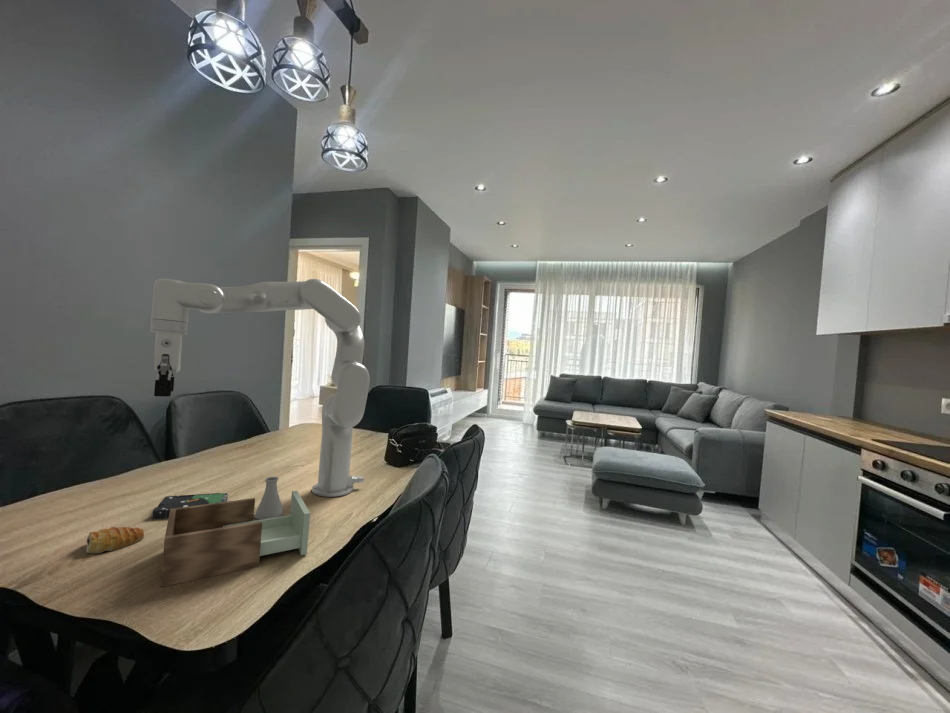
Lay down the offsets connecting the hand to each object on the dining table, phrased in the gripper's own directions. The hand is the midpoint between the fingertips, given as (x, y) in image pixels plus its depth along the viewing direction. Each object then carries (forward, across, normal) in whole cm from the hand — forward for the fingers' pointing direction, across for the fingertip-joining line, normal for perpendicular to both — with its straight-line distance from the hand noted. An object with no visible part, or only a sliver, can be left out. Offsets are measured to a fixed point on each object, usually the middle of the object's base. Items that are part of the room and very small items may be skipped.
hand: (164, 393), depth 100 cm
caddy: (+31, -30, -12) cm, 45 cm away
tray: (+31, -30, -22) cm, 48 cm away
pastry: (+32, -15, +6) cm, 35 cm away
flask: (+31, -12, -25) cm, 42 cm away
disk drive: (+32, 0, -8) cm, 33 cm away
